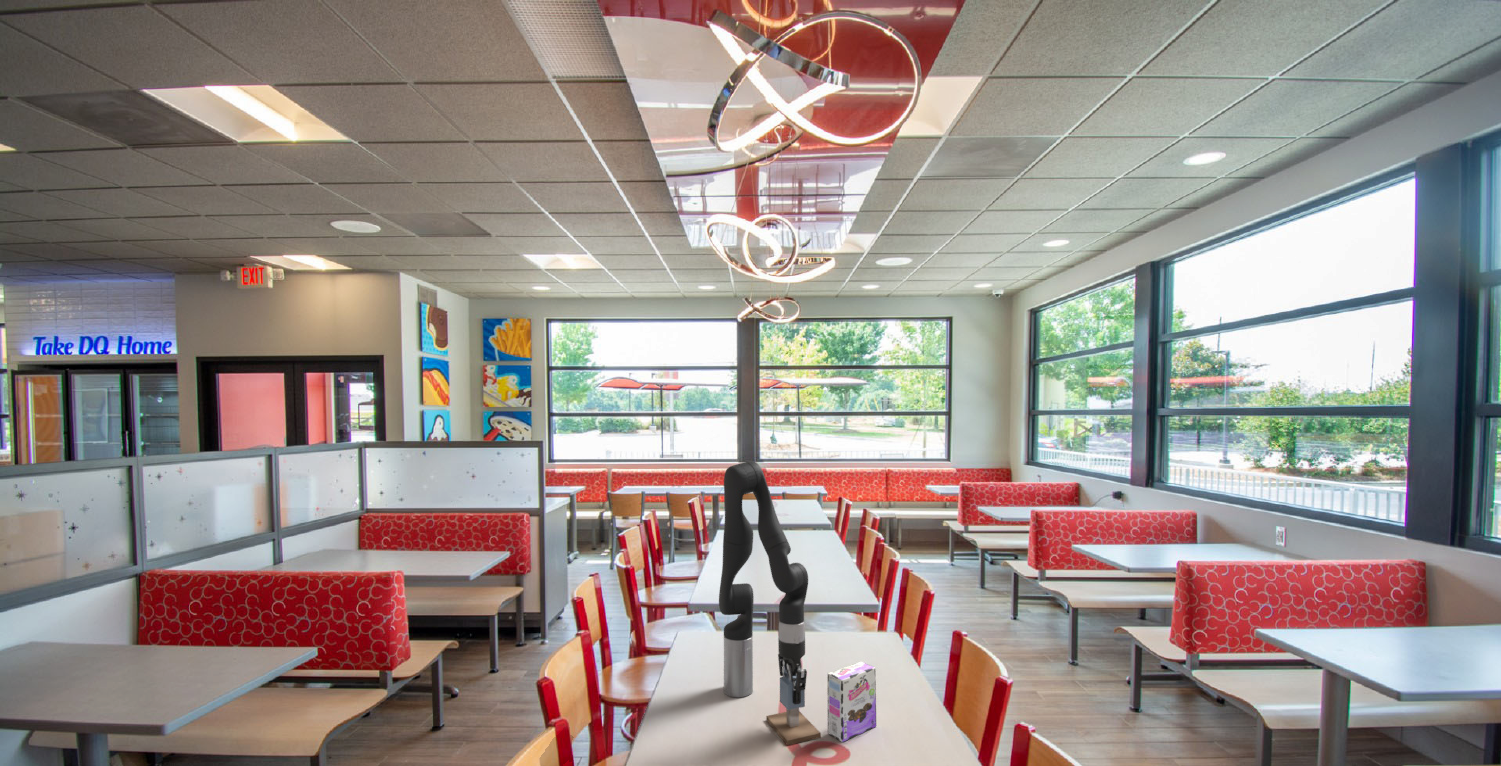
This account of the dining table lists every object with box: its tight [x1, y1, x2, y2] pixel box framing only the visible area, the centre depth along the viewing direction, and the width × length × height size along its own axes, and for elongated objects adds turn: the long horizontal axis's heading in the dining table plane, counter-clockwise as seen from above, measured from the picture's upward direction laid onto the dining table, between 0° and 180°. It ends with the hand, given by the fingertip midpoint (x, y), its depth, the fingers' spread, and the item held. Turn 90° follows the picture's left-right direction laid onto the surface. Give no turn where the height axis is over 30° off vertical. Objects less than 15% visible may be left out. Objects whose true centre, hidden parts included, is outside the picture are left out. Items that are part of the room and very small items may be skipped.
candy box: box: [827, 661, 877, 743], centre depth 165 cm, size 14×6×16 cm, turn 126°
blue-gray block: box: [779, 676, 806, 710], centre depth 166 cm, size 5×5×7 cm
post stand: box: [765, 708, 822, 746], centre depth 166 cm, size 14×10×7 cm
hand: (792, 698), depth 166 cm, fingers closed on blue-gray block, 5 cm apart
